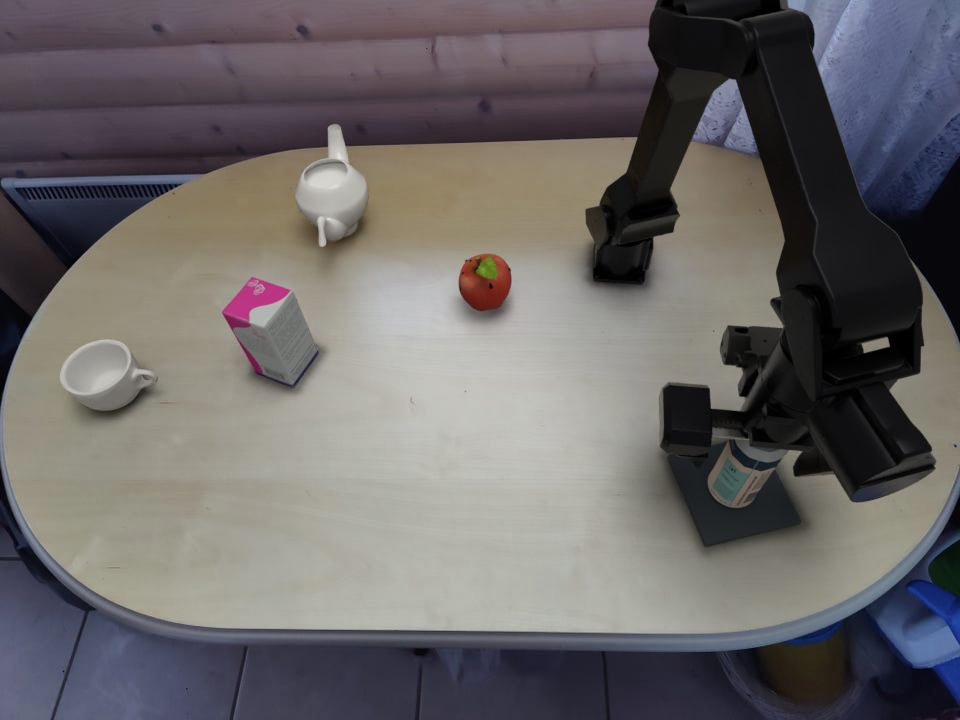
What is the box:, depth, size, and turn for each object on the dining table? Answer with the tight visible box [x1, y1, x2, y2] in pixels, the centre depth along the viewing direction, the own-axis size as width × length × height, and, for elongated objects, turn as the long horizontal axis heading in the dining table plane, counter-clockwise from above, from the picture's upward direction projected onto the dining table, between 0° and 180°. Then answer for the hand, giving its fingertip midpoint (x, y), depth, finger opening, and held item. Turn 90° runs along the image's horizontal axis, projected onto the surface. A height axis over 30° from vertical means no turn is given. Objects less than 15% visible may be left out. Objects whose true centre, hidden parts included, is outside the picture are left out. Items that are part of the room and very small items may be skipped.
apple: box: [458, 253, 513, 312], centre depth 81 cm, size 8×7×10 cm
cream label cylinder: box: [708, 439, 789, 508], centre depth 64 cm, size 5×5×12 cm
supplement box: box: [221, 276, 319, 388], centre depth 77 cm, size 6×6×12 cm
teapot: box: [294, 123, 370, 248], centre depth 91 cm, size 10×20×9 cm, turn 0°
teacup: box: [59, 339, 159, 412], centre depth 78 cm, size 10×8×5 cm
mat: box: [667, 440, 803, 547], centre depth 70 cm, size 10×10×1 cm
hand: (745, 467), depth 65 cm, fingers open, 9 cm apart
